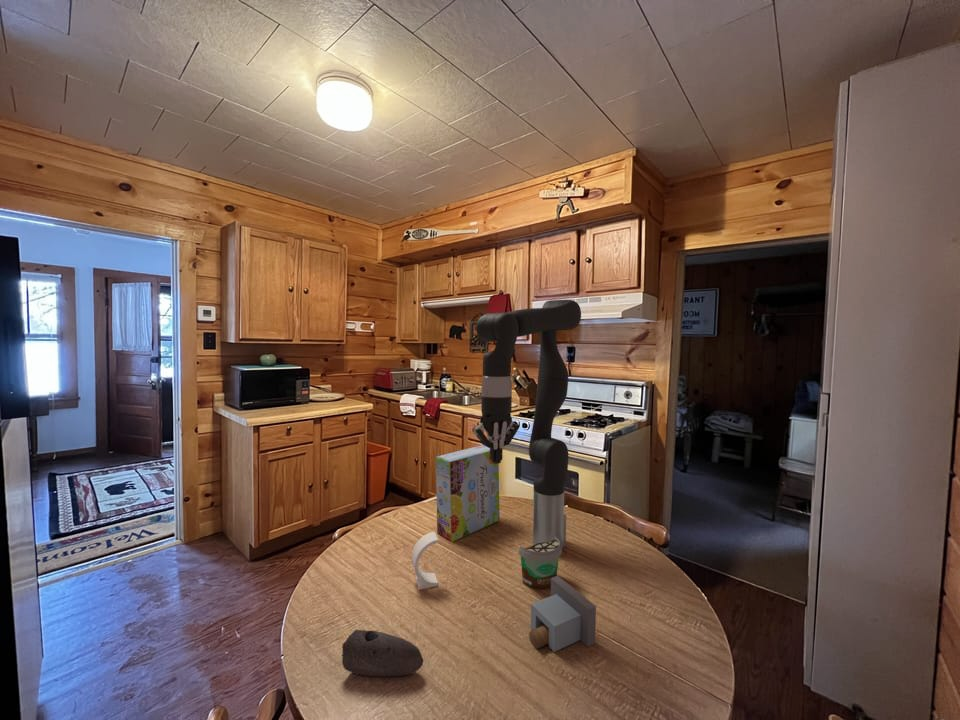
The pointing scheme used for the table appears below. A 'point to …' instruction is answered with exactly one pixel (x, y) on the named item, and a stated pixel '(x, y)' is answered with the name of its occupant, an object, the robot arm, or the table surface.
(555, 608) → the block
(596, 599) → the table surface
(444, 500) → the snack box
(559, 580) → the backstop wall
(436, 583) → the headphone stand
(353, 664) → the perforated stone tool
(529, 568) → the ice cream tub
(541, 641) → the dowel
